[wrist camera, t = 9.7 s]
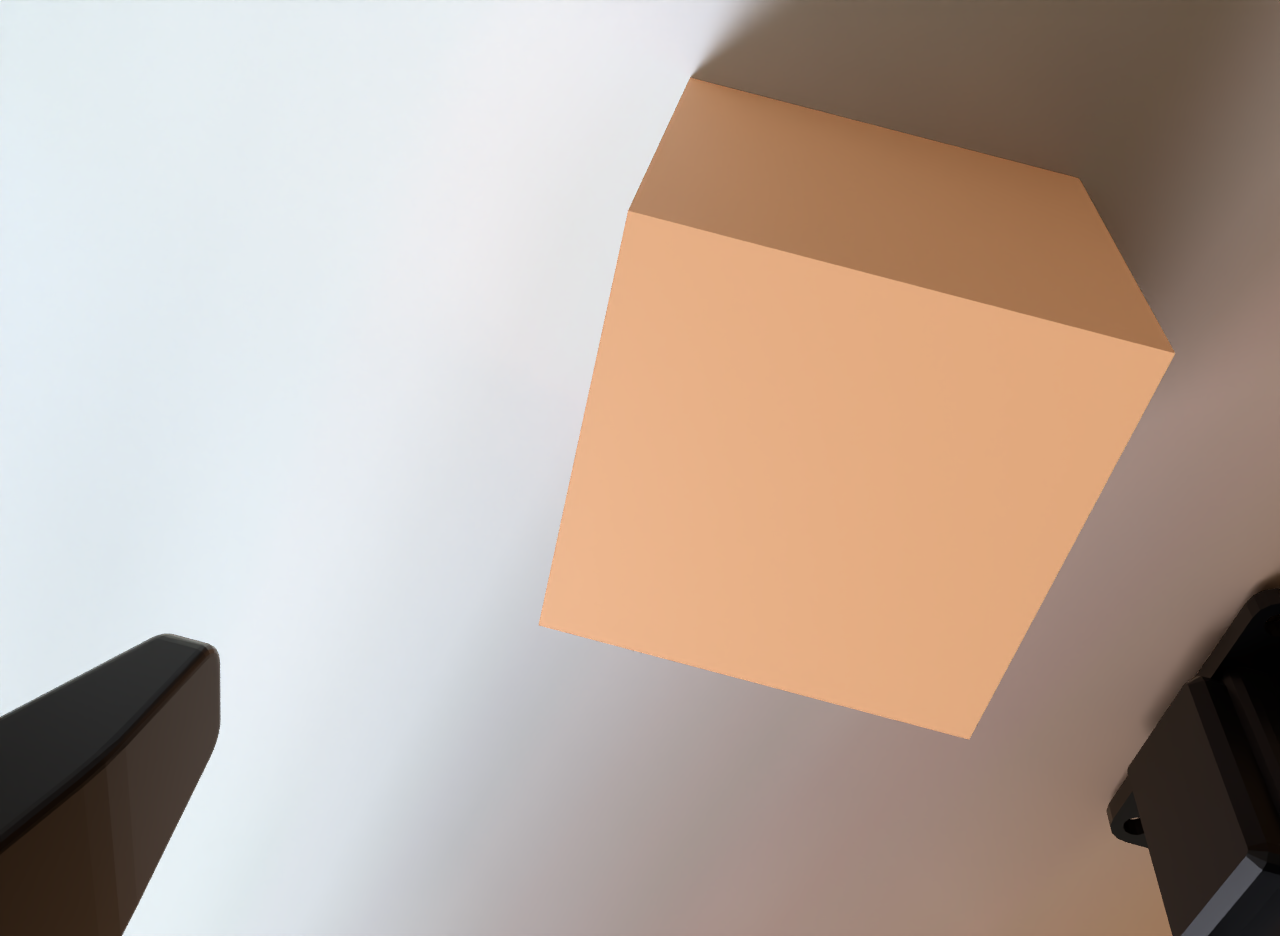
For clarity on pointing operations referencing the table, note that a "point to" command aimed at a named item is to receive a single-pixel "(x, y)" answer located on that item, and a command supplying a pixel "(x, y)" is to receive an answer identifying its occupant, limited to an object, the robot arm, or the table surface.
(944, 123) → the table surface
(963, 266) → the terracotta cube
